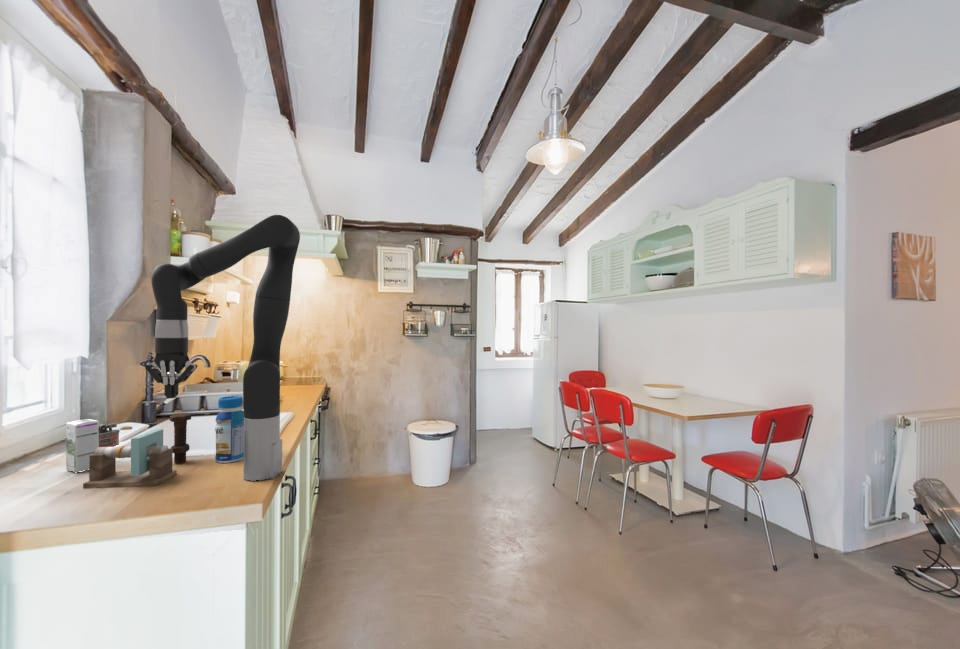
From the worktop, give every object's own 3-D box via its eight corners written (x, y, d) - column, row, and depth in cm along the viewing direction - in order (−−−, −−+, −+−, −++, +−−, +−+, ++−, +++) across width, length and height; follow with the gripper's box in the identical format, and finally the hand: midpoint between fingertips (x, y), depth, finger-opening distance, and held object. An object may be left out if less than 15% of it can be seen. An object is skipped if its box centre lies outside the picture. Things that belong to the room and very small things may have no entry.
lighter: (89, 458, 136) (90, 427, 136) (86, 456, 137) (86, 426, 137) (121, 452, 142) (121, 422, 143) (117, 450, 144) (117, 421, 144)
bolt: (178, 466, 129) (178, 417, 129) (164, 465, 130) (165, 416, 130) (194, 460, 134) (195, 413, 135) (181, 459, 136) (182, 412, 136)
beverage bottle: (246, 460, 134) (246, 398, 134) (214, 465, 130) (215, 400, 130) (244, 454, 141) (244, 394, 141) (214, 458, 137) (215, 396, 137)
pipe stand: (176, 474, 122) (176, 440, 122) (156, 485, 113) (156, 450, 113) (109, 475, 120) (109, 442, 120) (83, 488, 111) (83, 451, 111)
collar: (163, 463, 122) (163, 429, 122) (138, 475, 112) (139, 438, 112) (155, 463, 122) (155, 429, 122) (130, 476, 112) (131, 438, 112)
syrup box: (99, 467, 127) (100, 419, 127) (74, 474, 122) (75, 424, 122) (90, 465, 129) (90, 418, 129) (64, 471, 124) (65, 422, 124)
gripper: (204, 336, 122) (203, 395, 122) (155, 335, 121) (154, 396, 121) (189, 336, 115) (188, 400, 115) (137, 336, 114) (136, 400, 113)
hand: (171, 397), depth 118 cm, fingers closed
